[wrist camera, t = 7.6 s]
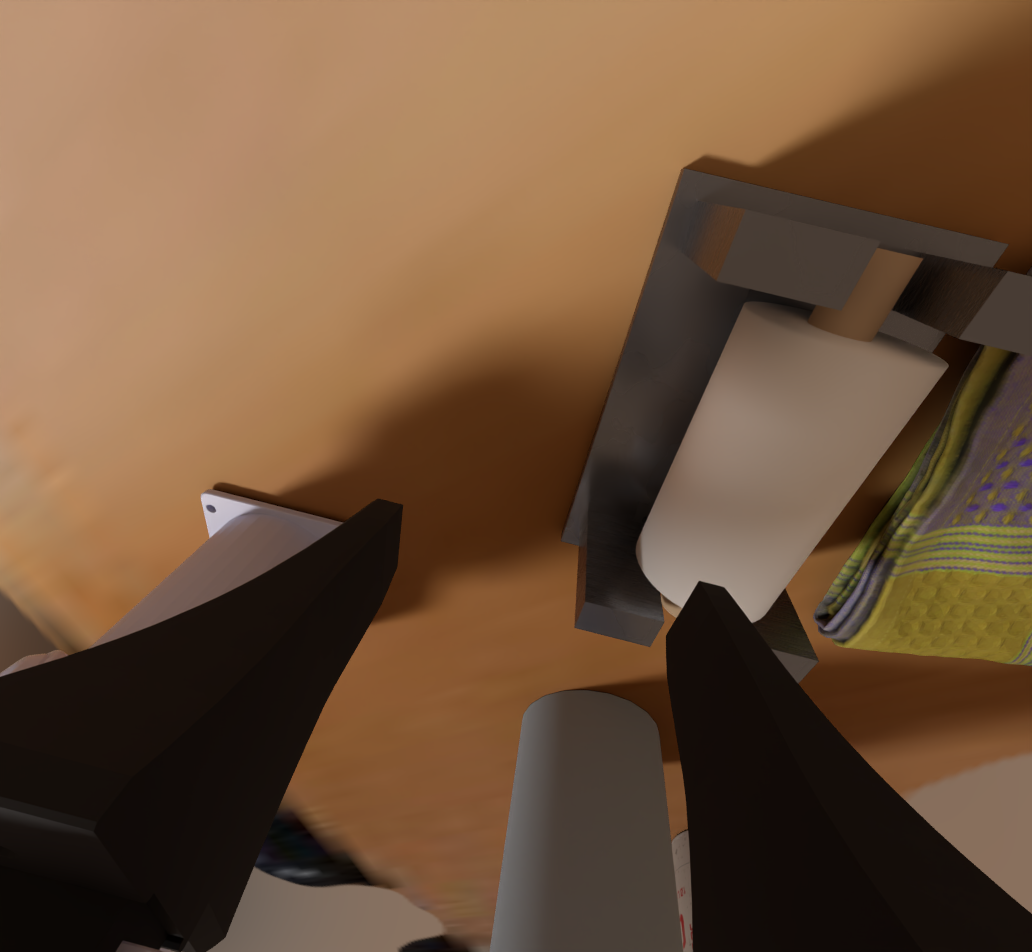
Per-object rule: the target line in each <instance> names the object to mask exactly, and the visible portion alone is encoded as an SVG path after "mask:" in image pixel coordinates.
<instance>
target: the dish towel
mask: <svg viewBox="0 0 1032 952" xmlns="http://www.w3.org/2000/svg"><path fill="white" fill-rule="evenodd" d="M1026 275H1027V276H1031V277H1032V266H1031V268H1030V269H1029V271H1028V272H1027V274H1026ZM813 618H814V621H815V622H816V623H817V624H818V631H819V632H820V634H821V635H823V636H825V637H827V638H831V639H832V641H833V642H834V644H835V645H837V646H840V647H846V648H855V649H863V650H873V651H879V652H897V653H909V654H916V655H920V656H939V657H953V658H974V659H983V660H988V661H994V662H999V663H1005V664H1020V665H1027V666H1032V356H1029V355H1024V354H1020V353H1016V352H1012V351H1008V350H1003V349H999V348H995V347H991V346H987V345H983V344H981V345H980V347H979V348H978V350H977V352H976V353H975V355H974V356H973V358H972V360H971V361H970V363H969V364H968V366H967V367H966V369H965V371H964V373H963V375H962V377H961V379H960V382H959V384H958V386H957V388H956V390H955V392H954V394H953V397H952V399H951V401H950V403H949V405H948V408H947V410H946V412H945V414H944V417H943V419H942V421H941V422H940V424H939V425H938V427H937V428H936V430H935V431H934V433H933V434H932V436H931V437H930V439H929V440H928V442H927V443H926V445H925V446H924V448H923V450H922V451H921V453H920V455H919V456H918V458H917V460H916V461H915V463H914V465H913V467H912V468H911V470H910V471H909V473H908V475H907V476H906V478H905V479H904V481H903V482H902V483H901V485H900V486H899V487H898V489H897V490H896V491H895V493H894V494H893V495H892V497H891V498H890V500H889V501H888V503H887V504H886V505H885V507H884V508H883V509H882V511H881V512H880V513H879V514H878V516H877V517H876V519H875V520H874V521H873V523H872V524H871V526H870V527H869V529H868V530H867V532H866V534H865V535H864V537H863V539H862V540H861V542H860V543H859V545H858V546H857V548H856V549H855V551H854V552H853V554H852V555H851V556H850V558H849V559H848V560H847V562H846V563H845V564H844V566H843V568H842V569H841V571H840V573H839V575H838V576H837V578H836V579H835V581H834V582H833V584H832V585H831V587H830V588H829V590H828V592H827V594H826V595H825V596H824V599H823V601H822V602H820V604H819V605H818V607H817V609H816V611H815V613H814V615H813Z"/></svg>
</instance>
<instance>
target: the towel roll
mask: <svg viewBox="0 0 1032 952" xmlns="http://www.w3.org/2000/svg"><path fill="white" fill-rule="evenodd" d="M922 260H923V258H919V257H914V256H910V255H906V254H902V253H897V252H893V251H889V250H884V249H880V248H877V249H876V251H875V253H874V254H873V256H872V258H871V260H870V261H869V263H868V265H867V267H866V268H865V270H864V272H863V274H862V275H861V277H860V279H859V281H858V282H857V284H856V286H855V288H854V289H853V291H852V293H851V295H850V296H849V298H848V300H847V302H846V304H845V305H844V307H843V309H842V311H840V310H836V309H832V308H828V307H823V306H819V305H816V306H815V308H814V310H813V312H812V311H808V310H804V309H799V308H795V307H790V306H785V305H780V304H774V303H767V302H757V301H751V302H746V303H744V305H743V307H742V309H741V312H740V314H739V316H738V318H737V320H736V323H735V325H734V327H733V329H732V332H731V334H730V336H729V338H728V340H727V343H726V345H725V347H724V349H723V352H722V354H721V356H720V358H719V360H718V363H717V365H716V367H715V369H714V372H713V374H712V376H711V378H710V380H709V383H708V385H707V387H706V389H705V392H704V394H703V396H702V398H701V400H700V403H699V405H698V407H697V409H696V412H695V414H694V416H693V418H692V420H691V423H690V425H689V427H688V429H687V432H686V434H685V436H684V438H683V440H682V443H681V445H680V447H679V449H678V452H677V454H676V456H675V458H674V460H673V463H672V465H671V467H670V469H669V472H668V474H667V476H666V478H665V480H664V483H663V485H662V487H661V489H660V492H659V494H658V496H657V498H656V500H655V503H654V505H653V507H652V509H651V512H650V514H649V516H648V518H647V520H646V523H645V525H644V527H643V529H642V532H641V534H640V536H639V538H638V540H637V544H636V557H637V560H638V563H639V565H640V567H641V570H642V571H643V573H644V574H645V576H646V577H647V579H648V580H649V581H650V582H651V584H652V585H653V586H654V587H655V588H656V589H657V590H658V591H659V592H661V593H662V595H661V602H662V604H663V606H664V608H665V609H666V610H667V611H668V612H669V613H670V614H671V615H673V616H674V617H676V618H677V617H678V615H679V613H680V611H681V610H682V608H683V606H684V605H685V603H686V601H687V600H688V598H689V596H690V595H691V593H692V591H693V590H694V588H695V586H696V585H697V583H698V581H703V582H706V583H710V584H714V585H718V586H722V587H725V589H726V590H727V591H728V592H729V593H730V595H731V596H732V597H733V599H734V600H735V601H736V603H737V604H738V605H739V607H740V608H741V609H742V611H743V612H744V613H745V615H746V616H747V617H748V619H749V620H750V621H751V623H753V622H756V621H757V620H759V619H761V618H762V617H763V616H764V615H765V614H766V613H767V612H768V610H769V609H770V607H771V606H772V605H773V603H774V602H775V601H776V599H777V598H778V597H779V595H780V594H781V593H782V591H783V590H784V589H785V587H786V586H787V584H788V583H789V582H790V580H791V579H792V578H793V576H794V575H795V574H796V572H797V571H798V570H799V568H800V567H801V566H802V564H803V563H804V561H805V560H806V559H807V557H808V556H809V555H810V553H811V552H812V551H813V549H814V548H815V547H816V545H817V544H818V543H819V541H820V540H821V539H822V537H823V536H824V534H825V533H826V532H827V530H828V529H829V528H830V526H831V525H832V524H833V522H834V521H835V520H836V518H837V517H838V516H839V514H840V513H841V511H842V510H843V509H844V507H845V506H846V505H847V503H848V502H849V501H850V499H851V498H852V497H853V495H854V494H855V493H856V491H857V490H858V488H859V487H860V486H861V484H862V483H863V482H864V480H865V479H866V478H867V476H868V475H869V474H870V472H871V471H872V470H873V468H874V467H875V465H876V464H877V463H878V461H879V460H880V459H881V457H882V456H883V455H884V453H885V452H886V451H887V449H888V448H889V447H890V445H891V444H892V443H893V441H894V440H895V438H896V437H897V436H898V434H899V433H900V432H901V430H902V429H903V428H904V426H905V425H906V424H907V422H908V421H909V420H910V418H911V417H912V415H913V414H914V413H915V411H916V410H917V409H918V407H919V406H920V405H921V403H922V402H923V401H924V399H925V398H926V397H927V395H928V394H929V392H930V391H931V390H932V388H933V387H934V386H935V384H936V383H937V382H938V380H939V379H940V378H941V376H942V375H943V374H944V372H945V371H946V369H947V368H948V367H949V365H948V363H947V362H946V361H944V360H943V359H941V358H940V357H938V356H936V355H935V354H933V353H931V352H929V351H927V350H925V349H922V348H920V347H918V346H916V345H913V344H911V343H908V342H906V341H903V340H901V339H898V338H896V337H893V336H890V335H887V334H885V333H882V332H879V329H880V327H881V326H882V324H883V323H884V321H885V319H886V318H887V316H888V315H889V313H890V311H891V310H892V308H893V307H894V305H895V303H896V302H897V300H898V299H899V297H900V295H901V294H902V292H903V291H904V289H905V287H906V286H907V284H908V283H909V281H910V279H911V278H912V276H913V275H914V273H915V271H916V270H917V268H918V267H919V265H920V263H921V262H922Z"/></svg>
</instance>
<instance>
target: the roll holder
mask: <svg viewBox="0 0 1032 952" xmlns="http://www.w3.org/2000/svg"><path fill="white" fill-rule="evenodd" d="M1008 245H1009V244H1005V243H1001V242H997V241H992V240H988V239H984V238H980V237H975V236H971V235H967V234H963V233H958V232H954V231H950V230H945V229H941V228H937V227H933V226H928V225H924V224H920V223H916V222H911V221H907V220H903V219H899V218H894V217H890V216H886V215H881V214H877V213H873V212H869V211H864V210H860V209H856V208H852V207H847V206H843V205H839V204H834V203H830V202H826V201H822V200H817V199H813V198H809V197H805V196H800V195H796V194H792V193H788V192H783V191H779V190H775V189H770V188H766V187H762V186H758V185H753V184H749V183H745V182H741V181H736V180H732V179H728V178H723V177H719V176H715V175H711V174H706V173H702V172H698V171H694V170H689V169H685V168H684V169H681V172H680V175H679V178H678V181H677V184H676V188H675V191H674V194H673V197H672V200H671V203H670V206H669V209H668V212H667V215H666V218H665V221H664V224H663V227H662V230H661V233H660V236H659V239H658V242H657V245H656V248H655V251H654V254H653V257H652V260H651V264H650V267H649V270H648V273H647V276H646V279H645V282H644V285H643V288H642V291H641V294H640V297H639V300H638V303H637V306H636V309H635V312H634V315H633V318H632V321H631V324H630V327H629V330H628V333H627V337H626V340H625V343H624V346H623V349H622V352H621V355H620V358H619V361H618V364H617V367H616V370H615V373H614V376H613V379H612V382H611V385H610V388H609V391H608V394H607V397H606V400H605V403H604V406H603V410H602V413H601V416H600V419H599V422H598V425H597V428H596V431H595V434H594V437H593V440H592V443H591V446H590V449H589V452H588V455H587V458H586V461H585V464H584V467H583V470H582V473H581V476H580V479H579V482H578V486H577V489H576V492H575V495H574V498H573V501H572V504H571V507H570V510H569V513H568V516H567V519H566V522H565V525H564V528H563V531H562V537H561V541H563V542H567V543H570V544H574V545H578V546H579V554H578V573H577V591H576V609H575V628H578V629H582V630H586V631H590V632H593V633H597V634H601V635H605V636H609V637H613V638H617V639H621V640H625V641H629V642H633V643H637V644H640V645H644V646H648V647H650V646H651V645H652V643H653V641H654V639H655V638H656V636H657V634H658V632H659V630H660V629H661V627H662V625H663V623H664V616H663V610H662V603H661V596H660V592H659V591H658V590H657V589H656V588H655V587H654V586H653V585H652V584H651V582H650V581H649V580H648V579H647V577H646V576H645V574H644V573H643V571H642V570H641V567H640V565H639V563H638V560H637V557H636V544H637V540H638V538H639V536H640V534H641V532H642V529H643V527H644V525H645V523H646V520H647V518H648V516H649V514H650V512H651V509H652V507H653V505H654V503H655V500H656V498H657V496H658V494H659V492H660V489H661V487H662V485H663V483H664V480H665V478H666V476H667V474H668V472H669V469H670V467H671V465H672V463H673V460H674V458H675V456H676V454H677V452H678V449H679V447H680V445H681V443H682V440H683V438H684V436H685V434H686V432H687V429H688V427H689V425H690V423H691V420H692V418H693V416H694V414H695V412H696V409H697V407H698V405H699V403H700V400H701V398H702V396H703V394H704V392H705V389H706V387H707V385H708V383H709V380H710V378H711V376H712V374H713V372H714V369H715V367H716V365H717V363H718V360H719V358H720V356H721V354H722V352H723V349H724V347H725V345H726V343H727V340H728V338H729V336H730V334H731V332H732V329H733V327H734V325H735V323H736V320H737V318H738V316H739V314H740V312H741V309H742V307H743V305H744V303H746V302H751V301H757V302H767V303H774V304H780V305H785V306H790V307H795V308H799V309H804V310H808V311H812V312H813V310H814V308H815V306H816V305H819V306H823V307H828V308H832V309H836V310H840V311H842V309H843V307H844V305H845V304H846V302H847V300H848V298H849V296H850V295H851V293H852V291H853V289H854V288H855V286H856V284H857V282H858V281H859V279H860V277H861V275H862V274H863V272H864V270H865V268H866V267H867V265H868V263H869V261H870V260H871V258H872V256H873V254H874V253H875V251H876V249H877V248H880V249H884V250H889V251H893V252H897V253H902V254H906V255H910V256H914V257H919V258H923V260H922V262H921V263H920V265H919V267H918V268H917V270H916V271H915V273H914V275H913V276H912V278H911V279H910V281H909V283H908V284H907V286H906V287H905V289H904V291H903V292H902V294H901V295H900V297H899V299H898V300H897V302H896V303H895V305H894V307H893V308H892V310H891V311H890V313H889V315H888V316H887V318H886V319H885V321H884V323H883V324H882V326H881V327H880V329H879V332H882V333H885V334H887V335H890V336H893V337H896V338H898V339H901V340H903V341H906V342H908V343H911V344H913V345H916V346H918V347H920V348H922V349H925V350H927V351H929V352H931V353H932V352H933V351H934V349H935V348H936V347H937V345H938V344H939V342H940V341H941V340H942V338H943V337H944V335H945V334H949V335H951V336H953V337H956V338H958V339H962V340H966V341H970V342H974V343H978V344H983V345H987V346H991V347H995V348H999V349H1003V350H1008V351H1012V352H1016V353H1020V354H1024V355H1029V356H1032V277H1031V276H1027V275H1023V274H1018V273H1014V272H1010V271H1005V270H1001V269H996V268H993V266H994V265H995V263H996V262H997V261H998V259H999V258H1000V256H1001V255H1002V254H1003V252H1004V251H1005V249H1006V248H1007V246H1008ZM752 624H753V625H754V627H755V628H756V629H757V631H758V632H759V633H760V635H761V636H762V638H763V639H764V640H765V642H766V643H767V644H768V646H769V647H770V648H771V650H772V651H773V652H774V653H775V655H776V656H777V657H778V659H779V660H780V661H781V663H782V664H783V665H784V667H785V668H786V669H787V670H788V672H789V673H790V674H791V675H792V677H793V678H794V679H795V680H796V682H797V683H799V682H800V681H801V680H802V679H803V678H804V677H805V676H806V675H807V674H808V672H809V671H810V670H811V669H812V668H813V667H814V666H815V665H816V664H817V663H818V662H819V661H818V658H817V656H816V654H815V652H814V650H813V648H812V645H811V643H810V641H809V639H808V637H807V635H806V632H805V630H804V628H803V626H802V624H801V622H800V619H799V617H798V615H797V613H796V611H795V609H794V606H793V604H792V602H791V600H790V598H789V596H788V593H787V591H786V589H784V590H783V591H782V593H781V594H780V595H779V597H778V598H777V599H776V601H775V602H774V603H773V605H772V606H771V607H770V609H769V610H768V612H767V613H766V614H765V615H764V616H763V617H762V618H761V619H759V620H757V621H756V622H753V623H752Z"/></svg>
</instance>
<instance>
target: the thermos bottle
mask: <svg viewBox="0 0 1032 952" xmlns="http://www.w3.org/2000/svg"><path fill="white" fill-rule="evenodd" d="M672 854H673V863H674V872H675V881H676V890H677V899H678V908H679V917H680V926H681V935H682V944H683V952H693V936H692V895H691V872H690V850H689V835H688V830H687V831H684V832H682V833H680V834H678V835H677V836H676V837H675V838H674V839H673V841H672Z"/></svg>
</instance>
